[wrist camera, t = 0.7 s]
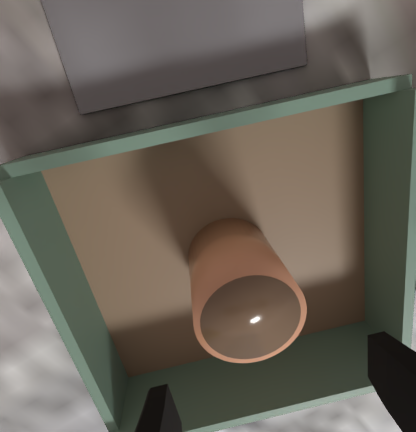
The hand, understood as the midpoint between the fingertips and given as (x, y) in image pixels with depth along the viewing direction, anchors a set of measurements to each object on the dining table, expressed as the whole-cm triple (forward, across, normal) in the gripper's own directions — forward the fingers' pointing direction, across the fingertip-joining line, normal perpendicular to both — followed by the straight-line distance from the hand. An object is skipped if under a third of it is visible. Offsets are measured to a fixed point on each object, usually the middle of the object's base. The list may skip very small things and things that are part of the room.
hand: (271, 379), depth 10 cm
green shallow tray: (+9, 0, 0) cm, 9 cm away
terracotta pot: (+9, 0, 0) cm, 9 cm away
